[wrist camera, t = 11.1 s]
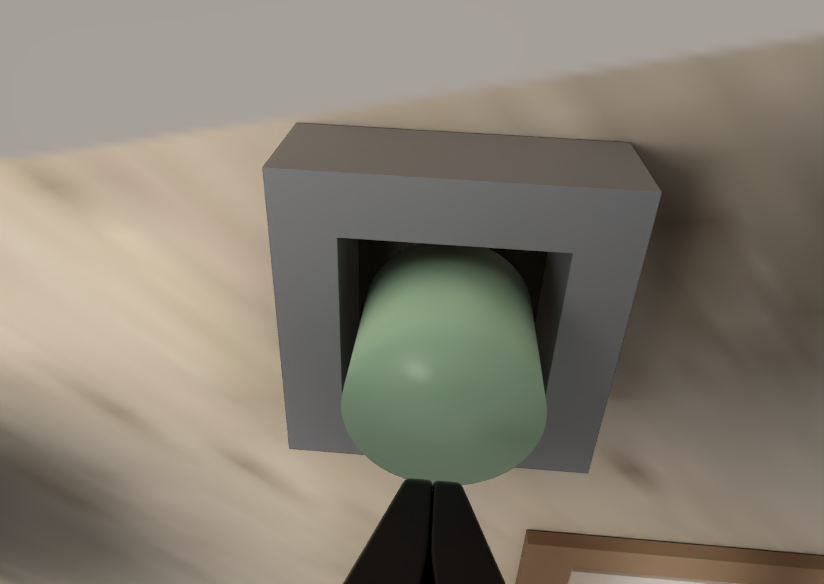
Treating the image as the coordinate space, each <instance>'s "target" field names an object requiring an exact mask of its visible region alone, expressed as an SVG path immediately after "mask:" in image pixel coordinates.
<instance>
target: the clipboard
mask: <svg viewBox="0 0 824 584" xmlns="http://www.w3.org/2000/svg"><path fill="white" fill-rule="evenodd" d="M516 584H824V556H818V555H806V554H795V553H783V552H772V551H760V550H749V549H737V548H726V547H714V546H703V545H691V544H680V543H669V542H657V541H646V540H634V539H623V538H611V537H600V536H588V535H577V534H565V533H554V532H542V531H531V530H526V535H525V540H524V545H523V550H522V555H521V560H520V565H519V570H518V575H517V580H516Z"/></svg>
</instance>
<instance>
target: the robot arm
mask: <svg viewBox="0 0 824 584" xmlns="http://www.w3.org/2000/svg"><path fill="white" fill-rule="evenodd" d="M432 489H433V491H432ZM343 584H505V581H504V579H503V577H502V575H501V572H500V570H499V568H498V566H497V563H496V561H495V559H494V557H493V554H492V552H491V550H490V548H489V545H488V543H487V541H486V539H485V536H484V534H483V532H482V530H481V527H480V525H479V523H478V521H477V518H476V516H475V514H474V512H473V509H472V507H471V505H470V502H469V500H468V498H467V496H466V493H465V491H464V489H463V487H462V486H461V484H460V483H458V482H450V481H436V482H434V484H432V482H431V481H430V480H426V479H414V478H408V479H406V480H405V481H404V482H403V484H402V485H401V487H400V489H399V490H398V492H397V494H396V495H395V497H394V499H393V500H392V502H391V504H390V505H389V507H388V509H387V511H386V512H385V514H384V516H383V517H382V519H381V521H380V522H379V524H378V526H377V527H376V529H375V531H374V532H373V534H372V536H371V537H370V539H369V541H368V542H367V544H366V546H365V548H364V549H363V551H362V553H361V554H360V556H359V558H358V559H357V561H356V563H355V564H354V566H353V568H352V569H351V571H350V573H349V574H348V576H347V578H346V579H345V581H344V583H343Z"/></svg>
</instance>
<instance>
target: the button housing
mask: <svg viewBox="0 0 824 584" xmlns="http://www.w3.org/2000/svg"><path fill="white" fill-rule="evenodd" d="M262 168H263V179H264V189H265V200H266V211H267V221H268V232H269V242H270V253H271V263H272V274H273V284H274V295H275V305H276V316H277V326H278V337H279V347H280V358H281V368H282V379H283V389H284V400H285V410H286V421H287V431H288V442H289V449H298V450H310V451H322V452H334V453H346V454H359V455H364V454H363V453H362V452H361V451H360V450H359V449H358V447H357V446H356V445H355V444H354V442H353V441H352V439H351V438H350V436H349V434H348V432H347V430H346V428H345V425H344V422H343V418H342V412H341V397H342V392H343V388H344V384H345V380H346V376H347V372H348V368H349V364H350V361H351V357H352V353H353V349H354V345H355V341H356V337H357V333H358V329H359V269H358V239H367V240H381V241H396V242H411V243H426V244H441V245H456V246H471V247H486V248H501V249H516V250H531V251H546V252H547V258H546V264H545V270H544V276H543V282H542V288H541V293H540V299H539V305H538V311H537V317H536V323H535V331H536V337H537V344H538V351H539V357H540V364H541V370H542V377H543V384H544V390H545V397H546V404H547V419H546V425H545V428H544V432H543V434H542V436H541V438H540V440H539V442H538V444H537V445H536V447H535V448H534V450H533V451H532V452H531V453H530V454H529V455H528V456H527V457H526V458H525V459H524V460H523V461H522V462H521V463H519V464H518V465H517V466H515V467H516V468H528V469H540V470H552V471H564V472H576V473H588V471H589V468H590V464H591V460H592V456H593V452H594V449H595V445H596V441H597V437H598V433H599V430H600V426H601V422H602V418H603V414H604V411H605V407H606V403H607V399H608V395H609V392H610V388H611V384H612V380H613V376H614V373H615V369H616V365H617V361H618V357H619V354H620V350H621V346H622V342H623V338H624V335H625V331H626V327H627V323H628V319H629V316H630V312H631V308H632V304H633V300H634V297H635V293H636V289H637V285H638V281H639V278H640V274H641V270H642V266H643V262H644V259H645V255H646V251H647V247H648V243H649V240H650V236H651V232H652V228H653V224H654V221H655V217H656V213H657V209H658V205H659V202H660V198H661V194H662V192H661V190H660V189H659V187H658V185H657V184H656V182H655V181H654V179H653V178H652V176H651V175H650V173H649V172H648V170H647V168H646V167H645V165H644V164H643V162H642V161H641V159H640V158H639V156H638V154H637V153H636V151H635V150H634V148H633V147H632V145H631V144H630V143H629V142H612V141H594V140H577V139H560V138H543V137H526V136H509V135H492V134H475V133H458V132H441V131H424V130H407V129H390V128H373V127H356V126H339V125H322V124H305V123H296V124H295V125H294V126H293V128H292V129H291V130H290V132H289V133H288V134H287V136H286V137H285V138H284V140H283V141H282V142H281V144H280V145H279V146H278V148H277V149H276V150H275V152H274V153H273V154H272V155H271V157H270V158H269V159H268V161H267V162H266V163H265V165H264V166H263V167H262Z"/></svg>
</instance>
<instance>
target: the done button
mask: <svg viewBox="0 0 824 584" xmlns="http://www.w3.org/2000/svg"><path fill="white" fill-rule="evenodd" d="M341 412H342V418H343V422H344V425H345V428H346V430H347V432H348V434H349V436H350V438H351V439H352V441H353V442H354V444H355V445H356V446H357V447H358V449H359V450H360V451H361V452H362V453H363V454H364V455H365V456H366V457H368V458H369V459H370V460H371V461H372V462H374V463H375V464H377V465H378V466H379V467H381V468H383V469H385V470H387V471H388V472H390V473H392V474H395V475H397V476H399V477H402V478H405V479H408V478H414V479H426V480H430V481H431V482H432V484H434V482H436V481H450V482H458V483H460V484H461V485H466V484H473V483H477V482H481V481H485V480H488V479H491V478H494V477H497V476H499V475H501V474H503V473H505V472H507V471H509V470H510V469H512V468H514V467H515V466H517V465H518V464H519V463H521V462H522V461H523V460H524V459H525V458H526V457H527V456H528V455H529V454H530V453H531V452H532V451H533V450H534V448H535V447H536V445H537V444H538V442H539V440H540V438H541V436H542V434H543V432H544V428H545V425H546V419H547V404H546V397H545V390H544V384H543V377H542V370H541V364H540V357H539V351H538V344H537V337H536V331H535V324H534V318H533V311H532V304H531V299H530V295H529V291H528V289H527V286H526V284H525V282H524V280H523V279H522V277H521V275H520V274H519V273H518V271H517V270H516V269H515V268H514V267H513V266H512V265H511V264H510V263H509V262H508V261H507V260H506V259H504V258H503V257H502V256H500V255H499V254H497V253H496V252H494V251H492V250H490V249H488V248H486V247H471V246H456V245H441V244H426V243H420V244H417V245H414V246H411V247H409V248H407V249H405V250H403V251H401V252H399V253H398V254H396V255H395V256H393V257H392V258H391V259H389V260H388V261H387V262H386V263H385V264H384V265H383V266H382V267H381V269H380V270H379V271H378V272H377V274H376V275H375V277H374V279H373V280H372V282H371V285H370V287H369V290H368V294H367V298H366V302H365V306H364V310H363V313H362V317H361V321H360V325H359V329H358V333H357V337H356V341H355V345H354V349H353V353H352V357H351V361H350V364H349V368H348V372H347V376H346V380H345V384H344V388H343V392H342V397H341Z"/></svg>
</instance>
